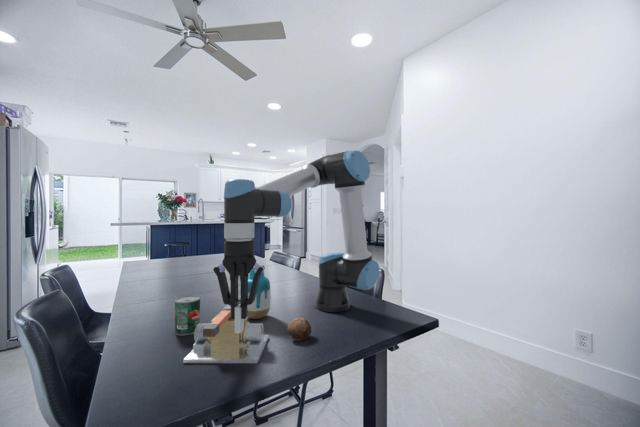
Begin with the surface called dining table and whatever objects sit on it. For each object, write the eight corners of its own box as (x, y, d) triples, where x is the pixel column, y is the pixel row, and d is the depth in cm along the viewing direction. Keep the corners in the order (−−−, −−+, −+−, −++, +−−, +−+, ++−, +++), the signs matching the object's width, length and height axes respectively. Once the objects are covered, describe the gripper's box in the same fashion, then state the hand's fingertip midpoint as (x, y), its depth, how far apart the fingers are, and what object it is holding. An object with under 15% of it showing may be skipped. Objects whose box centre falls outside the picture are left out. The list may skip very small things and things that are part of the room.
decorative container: (229, 292, 139) (229, 257, 139) (251, 293, 137) (251, 258, 138) (218, 299, 128) (218, 261, 128) (241, 300, 126) (241, 262, 126)
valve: (268, 338, 88) (268, 307, 88) (257, 363, 73) (257, 326, 73) (206, 337, 88) (206, 307, 88) (183, 363, 73) (183, 325, 73)
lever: (225, 313, 82) (225, 305, 82) (237, 313, 82) (237, 305, 82) (201, 338, 65) (201, 328, 66) (216, 338, 65) (216, 328, 65)
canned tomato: (175, 328, 96) (175, 296, 96) (200, 324, 99) (200, 294, 99) (173, 337, 88) (173, 303, 88) (200, 333, 91) (200, 300, 92)
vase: (264, 324, 99) (264, 271, 99) (237, 321, 101) (237, 270, 101) (274, 313, 110) (274, 266, 110) (250, 311, 112) (250, 265, 112)
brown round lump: (287, 321, 93) (293, 310, 90) (308, 329, 94) (315, 318, 91) (281, 342, 86) (287, 330, 83) (304, 350, 87) (311, 339, 84)
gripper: (267, 238, 74) (267, 325, 74) (220, 238, 74) (220, 324, 74) (261, 241, 66) (260, 337, 66) (208, 240, 66) (207, 337, 66)
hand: (239, 330), depth 70 cm, fingers closed
